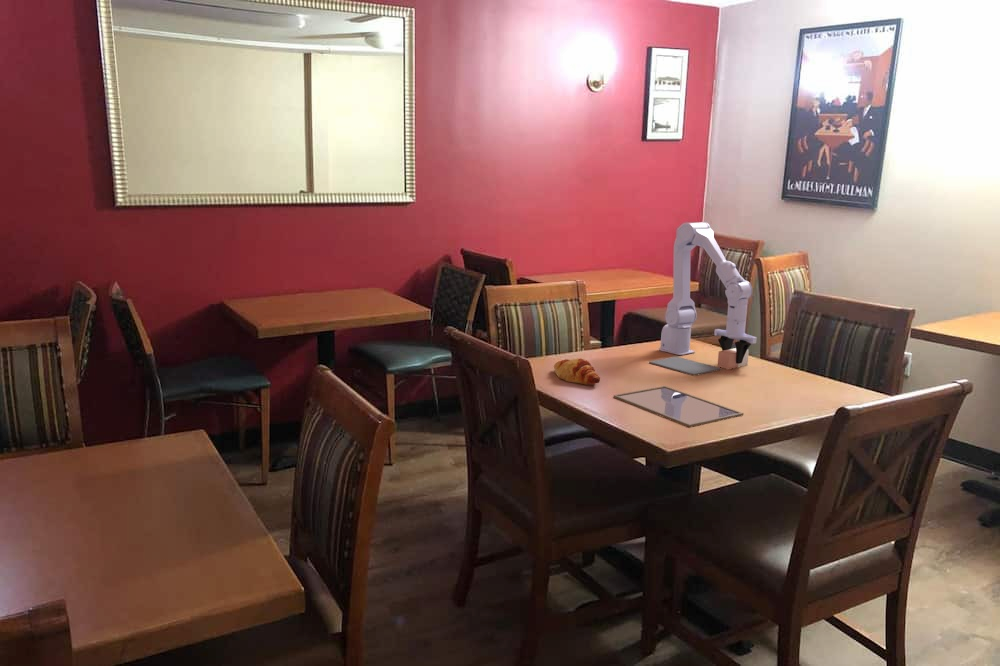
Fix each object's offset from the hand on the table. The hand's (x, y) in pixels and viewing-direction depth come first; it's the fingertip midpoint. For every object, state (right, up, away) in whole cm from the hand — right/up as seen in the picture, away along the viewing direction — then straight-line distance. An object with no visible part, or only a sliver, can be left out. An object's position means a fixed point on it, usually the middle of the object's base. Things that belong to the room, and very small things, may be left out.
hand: (732, 361), depth 246 cm
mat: (-16, -1, -1) cm, 16 cm away
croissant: (-51, -5, -18) cm, 55 cm away
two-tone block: (0, -1, 0) cm, 1 cm away
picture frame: (-27, -11, -42) cm, 51 cm away
